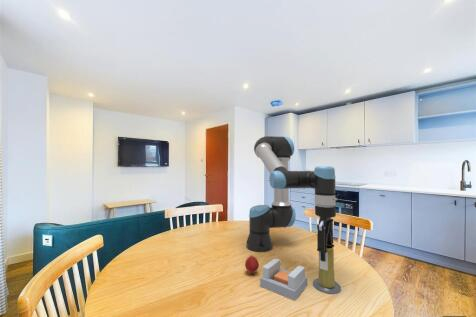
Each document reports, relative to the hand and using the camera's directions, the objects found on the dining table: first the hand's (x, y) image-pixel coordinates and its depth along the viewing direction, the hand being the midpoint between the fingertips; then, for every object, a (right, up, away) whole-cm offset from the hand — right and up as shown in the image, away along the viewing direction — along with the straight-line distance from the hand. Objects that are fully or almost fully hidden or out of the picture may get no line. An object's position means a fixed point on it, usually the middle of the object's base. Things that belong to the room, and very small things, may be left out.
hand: (326, 266), depth 80 cm
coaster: (0, -8, 0) cm, 8 cm away
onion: (-28, -8, +9) cm, 31 cm away
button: (-16, -7, 0) cm, 18 cm away
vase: (0, -7, 0) cm, 7 cm away
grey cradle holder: (-16, -8, 0) cm, 18 cm away
